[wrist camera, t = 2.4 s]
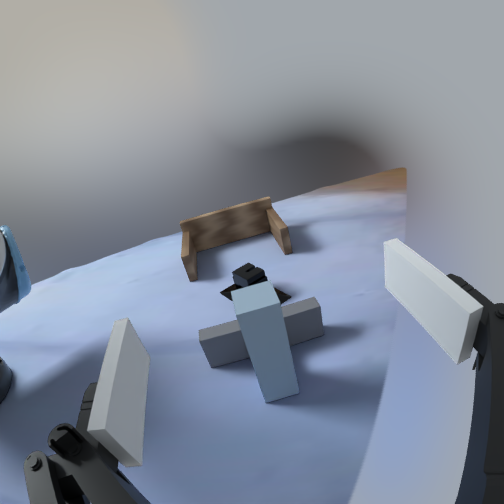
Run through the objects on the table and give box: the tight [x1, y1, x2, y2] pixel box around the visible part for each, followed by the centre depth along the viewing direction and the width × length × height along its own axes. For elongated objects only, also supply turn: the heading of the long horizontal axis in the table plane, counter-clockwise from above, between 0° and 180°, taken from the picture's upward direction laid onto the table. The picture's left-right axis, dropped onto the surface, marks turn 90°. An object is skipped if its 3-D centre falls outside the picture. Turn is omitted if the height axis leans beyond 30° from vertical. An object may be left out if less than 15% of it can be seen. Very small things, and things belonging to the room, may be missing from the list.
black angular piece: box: [220, 263, 291, 304], centre depth 48 cm, size 13×8×5 cm, turn 37°
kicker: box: [199, 280, 324, 403], centre depth 32 cm, size 14×9×12 cm, turn 100°
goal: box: [180, 197, 292, 282], centre depth 61 cm, size 19×13×7 cm
